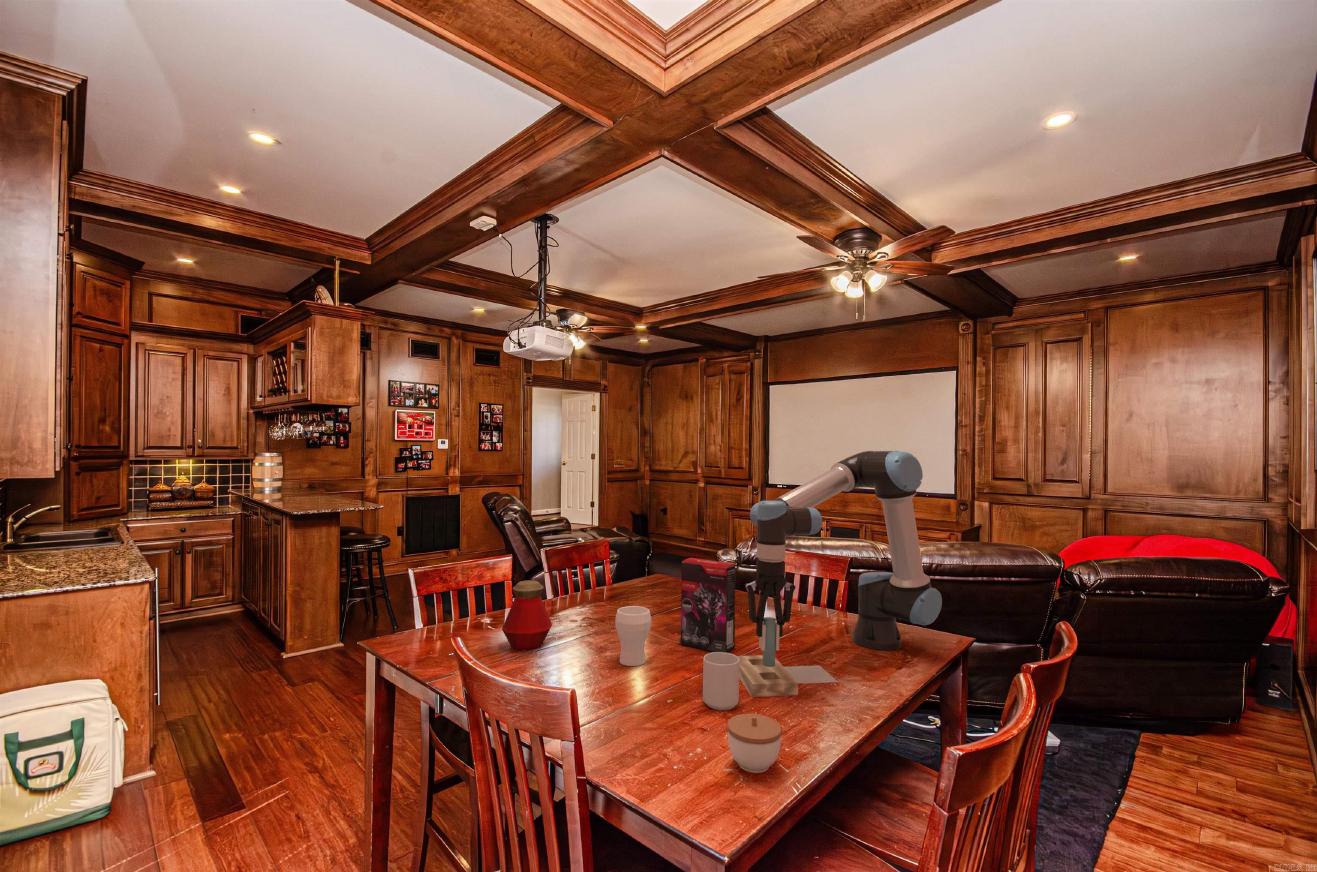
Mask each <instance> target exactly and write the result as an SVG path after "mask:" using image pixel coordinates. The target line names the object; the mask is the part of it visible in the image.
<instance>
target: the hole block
mask: <svg viewBox="0 0 1317 872" xmlns="http://www.w3.org/2000/svg"><path fill="white" fill-rule="evenodd" d="M736 656H737V657H738V658H739V681H740V682H741V683H742V686H743V687H745V689H746V691H747V692H748V693H749V695H750V697H751V698H752V699H754V698H755V697H758V698H759V697H760V698H761V697H781V696H799V684H798V682H797V681H796V680H795V679H794V678H793V677H792V675H791V674H790V673H789V672H788V671H787V670H786V669H785V668H784V667H785V666H783V664H782V663H781V662H780V661H779V660H778V659H777V658H776V657H775V666H774V667H767V666H764V665H763V654H760V655H757V654H756V655H736Z"/></svg>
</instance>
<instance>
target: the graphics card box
mask: <svg viewBox="0 0 1317 872" xmlns="http://www.w3.org/2000/svg"><path fill="white" fill-rule="evenodd" d="M736 566H737V564H736V563H731V562H725V561H723V562H722V561H716V560H710V559H702V558H695V557H688V558H685V559H683V560H682V561H681V581H680V582H681V583H680V584H681V586H680V589H681V591H680V592H681V593H680V594H681V595H680V642H679V643H680V645H684V646H686V647H691V648H696V649H702V650H707V651H710V652H712V653H714V652H724V653H731V652H732V651H734V650H735V649H736V648H735V647H736V645H735V644H736V638H735V637H736V568H737V567H736Z"/></svg>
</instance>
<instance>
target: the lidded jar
mask: <svg viewBox="0 0 1317 872" xmlns="http://www.w3.org/2000/svg"><path fill="white" fill-rule="evenodd" d="M726 725H727V726H726V727H727V728H726V729H727V740H728V741H727V742H728V748H729V751H730V755H731V756H732V758H733V759H734V760H735V762H736V764H738V766H739V767H740V768H741V770H744V771H745V772H748V773H753V774H762V773H765V772H767V771H768V770H769V769H770V767H771V766H773V765H774V764H775V762H776V761H777V759H778V757H779V753H780V750H781V743H782V726H781V724H780V723H779V722H778V721H776V720H775V719H773V718H772V717H769V716H768V715H767V716H766V715H763V714H757V713H742V714H736V715H735V716H731V718H729V719H728V721H727V724H726Z"/></svg>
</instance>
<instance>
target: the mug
mask: <svg viewBox="0 0 1317 872" xmlns="http://www.w3.org/2000/svg"><path fill="white" fill-rule="evenodd" d="M737 656H738V655H735V654H733V653H731V652H729V653H724V652H709V653H707V654H705V655H704V656H703V663H702V665H703V667H702V669H703V670H702V700H703V702H704V704H706V706H708V707H709V708H711V709H713V710H718V711H727V710H728V711H729V710H731V709H733V708H735V707H736V706H737V705H738V703H739V700H740V679H739V658H738V657H737Z"/></svg>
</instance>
